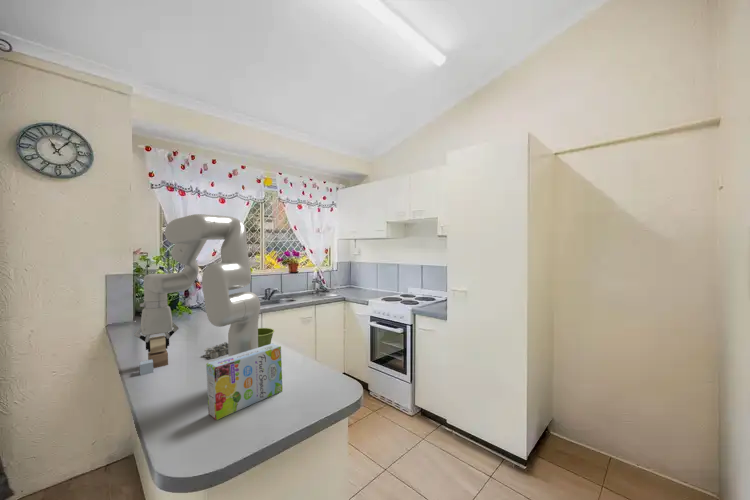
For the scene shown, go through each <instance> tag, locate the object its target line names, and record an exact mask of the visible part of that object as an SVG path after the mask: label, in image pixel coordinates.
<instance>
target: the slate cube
mask: <svg viewBox="0 0 750 500" xmlns="http://www.w3.org/2000/svg"><path fill="white" fill-rule="evenodd" d="M153 373H154V368H153V359H151V360H148V359H146V360H141V361H139V375H140V376H144V375H148V374H153Z"/></svg>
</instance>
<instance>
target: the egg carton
mask: <svg viewBox="0 0 750 500" xmlns="http://www.w3.org/2000/svg"><path fill="white" fill-rule="evenodd" d="M203 352H205V358H210V359H211V360H212V359H218V358H219V357H222V356H226V354H228V341H224V342H223V343H220V344H216V345H215V346H212V347H211V346H210V347H206V348H205V349H204V350H203Z"/></svg>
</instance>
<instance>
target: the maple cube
mask: <svg viewBox="0 0 750 500" xmlns="http://www.w3.org/2000/svg"><path fill="white" fill-rule="evenodd" d="M165 336H166V335H158V336H153V337H150V338H149V341H150V353H156V352H161V351H166V350H167V349H166V339H165Z"/></svg>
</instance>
